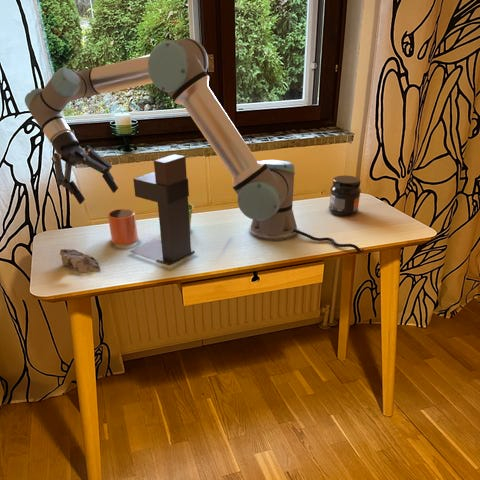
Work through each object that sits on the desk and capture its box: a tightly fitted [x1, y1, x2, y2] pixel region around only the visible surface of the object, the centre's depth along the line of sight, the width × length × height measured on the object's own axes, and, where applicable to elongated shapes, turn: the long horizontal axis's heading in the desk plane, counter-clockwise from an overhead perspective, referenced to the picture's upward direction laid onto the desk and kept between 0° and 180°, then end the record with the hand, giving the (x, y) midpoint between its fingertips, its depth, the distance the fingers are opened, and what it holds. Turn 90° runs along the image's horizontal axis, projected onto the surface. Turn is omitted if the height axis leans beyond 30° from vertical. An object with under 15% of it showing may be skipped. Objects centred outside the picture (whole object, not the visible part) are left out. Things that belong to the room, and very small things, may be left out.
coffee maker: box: [128, 153, 195, 267], centre depth 144 cm, size 16×11×30 cm, turn 54°
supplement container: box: [328, 175, 362, 217], centre depth 180 cm, size 10×10×12 cm
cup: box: [107, 208, 139, 246], centre depth 157 cm, size 8×8×10 cm
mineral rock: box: [59, 248, 101, 274], centre depth 144 cm, size 15×8×4 cm, turn 36°
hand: (99, 196), depth 159 cm, fingers open, 13 cm apart
